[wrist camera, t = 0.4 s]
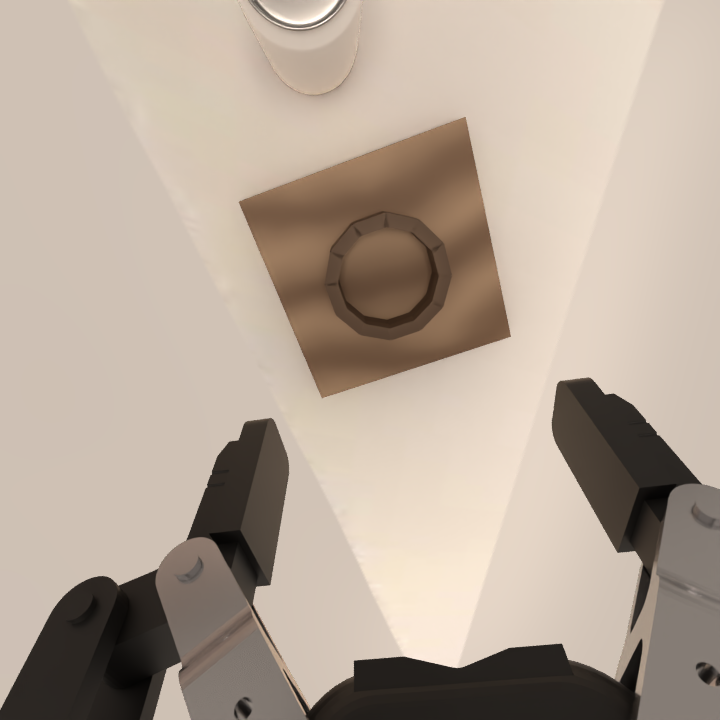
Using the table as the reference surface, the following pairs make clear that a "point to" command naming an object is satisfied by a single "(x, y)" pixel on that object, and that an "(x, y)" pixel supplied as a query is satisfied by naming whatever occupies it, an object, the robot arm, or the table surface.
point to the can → (307, 39)
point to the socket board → (383, 259)
